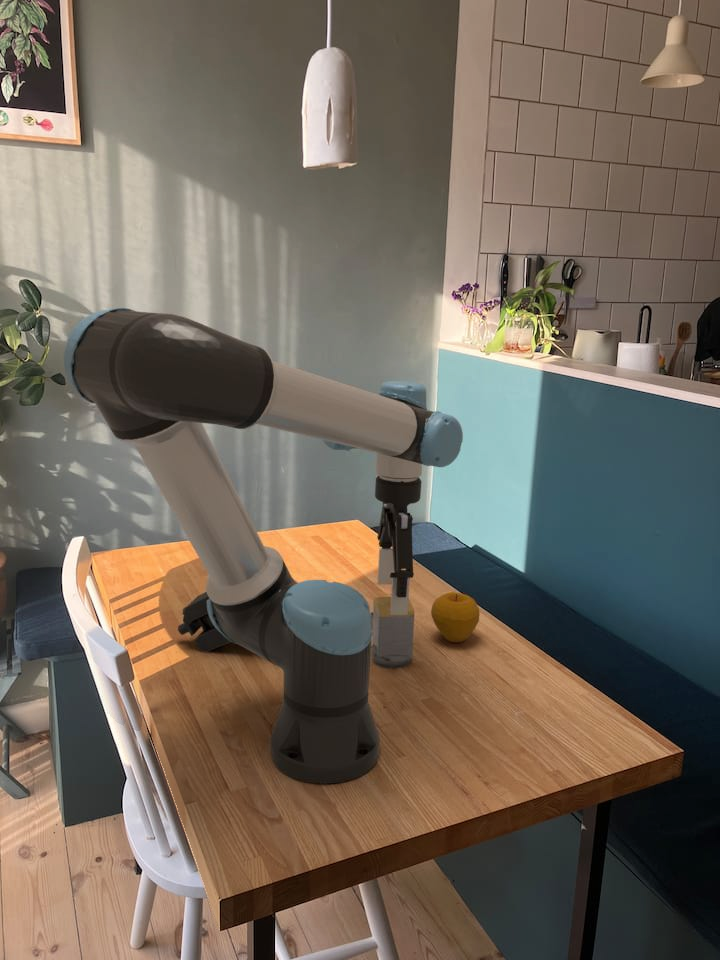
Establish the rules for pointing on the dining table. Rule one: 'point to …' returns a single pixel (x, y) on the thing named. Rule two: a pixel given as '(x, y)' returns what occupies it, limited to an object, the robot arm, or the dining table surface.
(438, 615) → the apple
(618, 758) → the dining table surface
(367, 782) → the dining table surface
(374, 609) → the lidded square canister
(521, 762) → the dining table surface
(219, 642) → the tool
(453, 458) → the robot arm
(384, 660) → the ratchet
